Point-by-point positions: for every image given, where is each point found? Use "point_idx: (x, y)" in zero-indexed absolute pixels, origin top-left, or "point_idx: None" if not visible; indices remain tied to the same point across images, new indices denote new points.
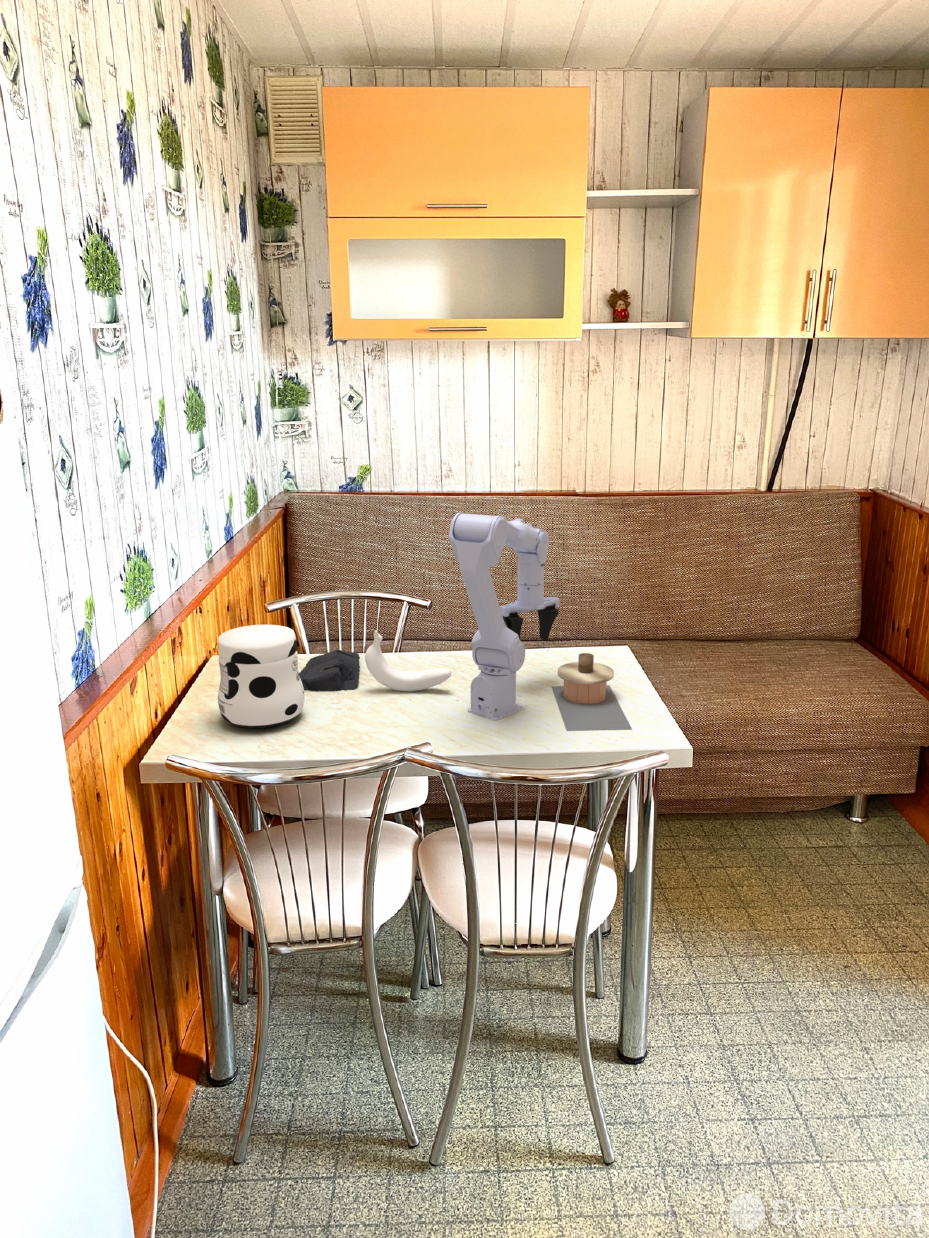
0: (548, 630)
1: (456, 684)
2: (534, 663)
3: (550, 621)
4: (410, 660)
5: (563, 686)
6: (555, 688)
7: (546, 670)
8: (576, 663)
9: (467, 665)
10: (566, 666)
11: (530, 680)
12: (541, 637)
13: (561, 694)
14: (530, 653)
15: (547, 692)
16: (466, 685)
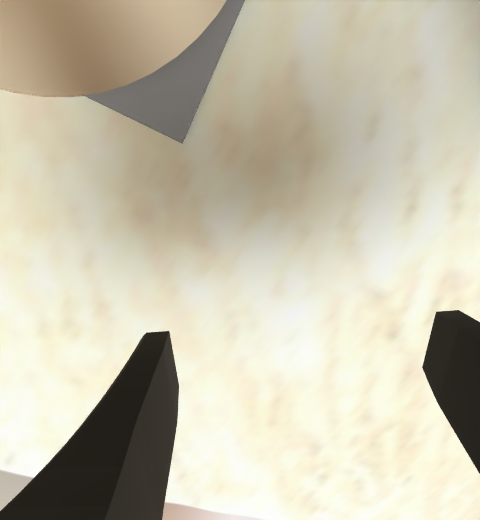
0: (133, 393)
1: None
2: None
3: (87, 490)
4: (422, 515)
5: (126, 109)
6: (179, 104)
7: (98, 323)
8: (8, 56)
9: (320, 448)
10: (119, 35)
11: (216, 263)
12: (175, 382)
13: None
14: None
15: (232, 97)
16: None
